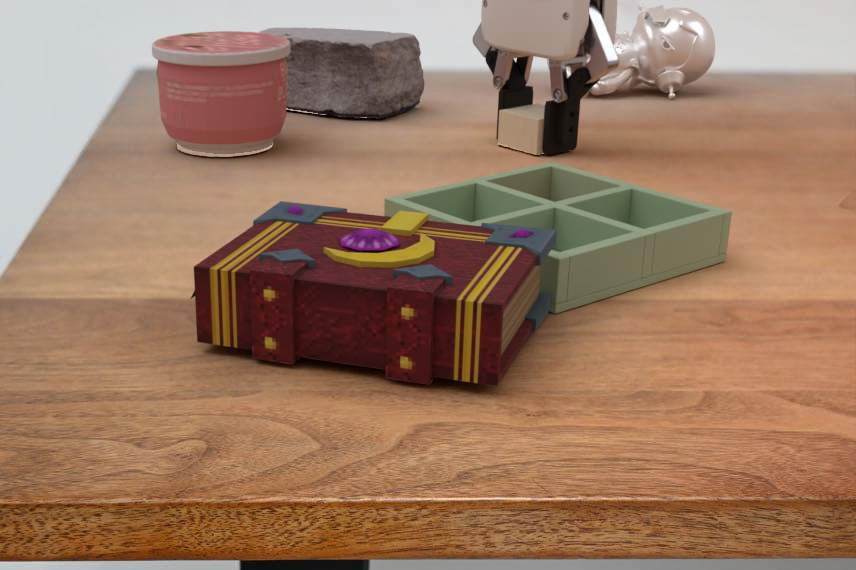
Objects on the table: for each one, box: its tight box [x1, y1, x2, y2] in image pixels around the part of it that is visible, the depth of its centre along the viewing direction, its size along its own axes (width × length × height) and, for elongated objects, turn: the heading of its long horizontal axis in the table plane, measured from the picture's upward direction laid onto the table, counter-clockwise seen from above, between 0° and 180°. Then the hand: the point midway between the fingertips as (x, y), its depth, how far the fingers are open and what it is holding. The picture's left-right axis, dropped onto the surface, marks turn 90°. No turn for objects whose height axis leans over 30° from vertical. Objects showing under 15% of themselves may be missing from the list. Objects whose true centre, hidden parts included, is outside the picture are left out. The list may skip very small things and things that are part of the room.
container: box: [151, 30, 291, 154], centre depth 97 cm, size 10×10×8 cm
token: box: [497, 102, 545, 155], centre depth 97 cm, size 4×4×3 cm
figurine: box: [546, 3, 716, 100], centre depth 115 cm, size 11×7×15 cm
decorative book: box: [190, 200, 557, 387], centre depth 62 cm, size 11×16×5 cm
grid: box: [383, 161, 733, 315], centre depth 73 cm, size 14×14×3 cm
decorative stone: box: [258, 27, 425, 119], centre depth 109 cm, size 15×7×10 cm
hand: (536, 142), depth 97 cm, fingers closed on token, 4 cm apart
